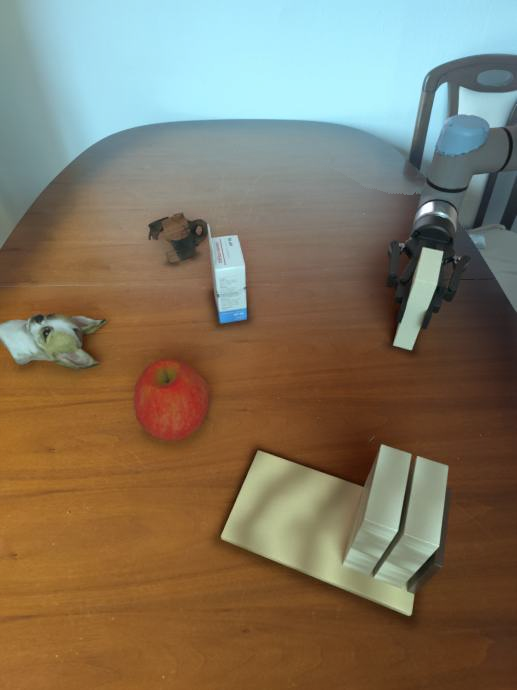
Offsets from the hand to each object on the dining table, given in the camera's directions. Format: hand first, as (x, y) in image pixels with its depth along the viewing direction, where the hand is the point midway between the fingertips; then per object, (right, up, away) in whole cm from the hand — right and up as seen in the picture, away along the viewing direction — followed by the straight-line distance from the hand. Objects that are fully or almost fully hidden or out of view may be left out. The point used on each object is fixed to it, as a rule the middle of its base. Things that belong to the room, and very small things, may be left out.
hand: (413, 319), depth 66 cm
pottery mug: (-38, +16, +25) cm, 48 cm away
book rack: (-15, -26, -12) cm, 32 cm away
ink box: (-28, +3, +14) cm, 31 cm away
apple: (-35, -14, -2) cm, 37 cm away
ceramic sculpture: (-55, -5, +6) cm, 55 cm away
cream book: (+2, -1, +9) cm, 10 cm away
